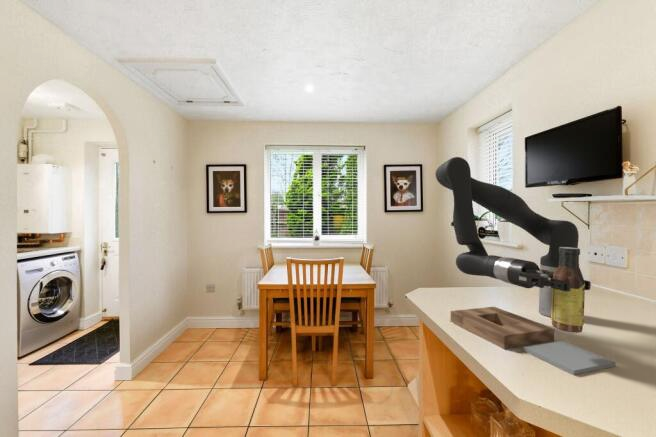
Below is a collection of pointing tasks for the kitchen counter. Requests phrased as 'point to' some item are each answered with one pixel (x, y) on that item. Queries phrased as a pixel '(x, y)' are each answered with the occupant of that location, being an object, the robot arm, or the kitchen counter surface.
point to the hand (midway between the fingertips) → (579, 286)
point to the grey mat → (569, 357)
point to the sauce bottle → (568, 293)
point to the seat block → (502, 327)
